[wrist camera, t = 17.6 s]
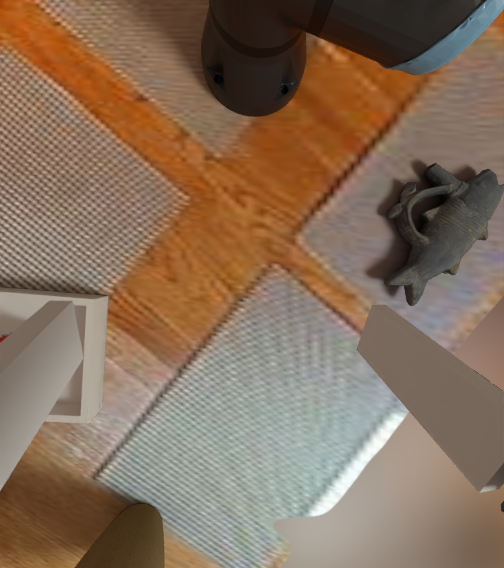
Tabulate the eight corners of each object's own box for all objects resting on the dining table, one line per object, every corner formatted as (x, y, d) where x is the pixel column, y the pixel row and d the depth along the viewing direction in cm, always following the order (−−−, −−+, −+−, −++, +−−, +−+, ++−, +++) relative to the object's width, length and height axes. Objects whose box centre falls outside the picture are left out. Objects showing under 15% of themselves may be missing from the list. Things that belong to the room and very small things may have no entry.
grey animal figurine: (537, 190, 38) (461, 125, 38) (430, 315, 37) (354, 248, 37) (503, 202, 43) (436, 144, 43) (408, 312, 42) (342, 253, 42)
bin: (-18, 285, 37) (-48, 287, 33) (108, 295, 39) (94, 299, 35) (-21, 401, 38) (-50, 417, 34) (102, 407, 40) (87, 423, 36)
